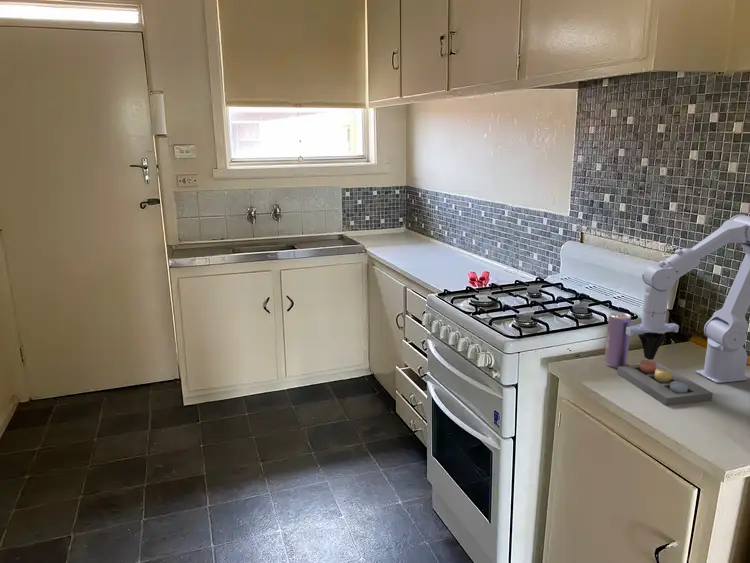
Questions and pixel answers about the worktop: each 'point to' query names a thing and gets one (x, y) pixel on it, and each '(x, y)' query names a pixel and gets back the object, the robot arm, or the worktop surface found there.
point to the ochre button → (663, 375)
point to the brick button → (648, 366)
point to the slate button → (678, 387)
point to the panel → (664, 386)
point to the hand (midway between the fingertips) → (648, 358)
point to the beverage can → (617, 339)
